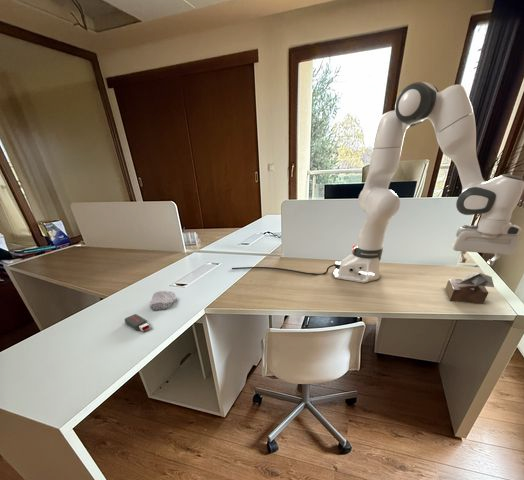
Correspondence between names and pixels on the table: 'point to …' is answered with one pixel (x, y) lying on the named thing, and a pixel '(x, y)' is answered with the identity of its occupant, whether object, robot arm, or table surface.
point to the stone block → (162, 300)
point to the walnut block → (465, 292)
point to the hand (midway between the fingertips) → (475, 263)
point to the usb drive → (137, 323)
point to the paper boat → (478, 280)
